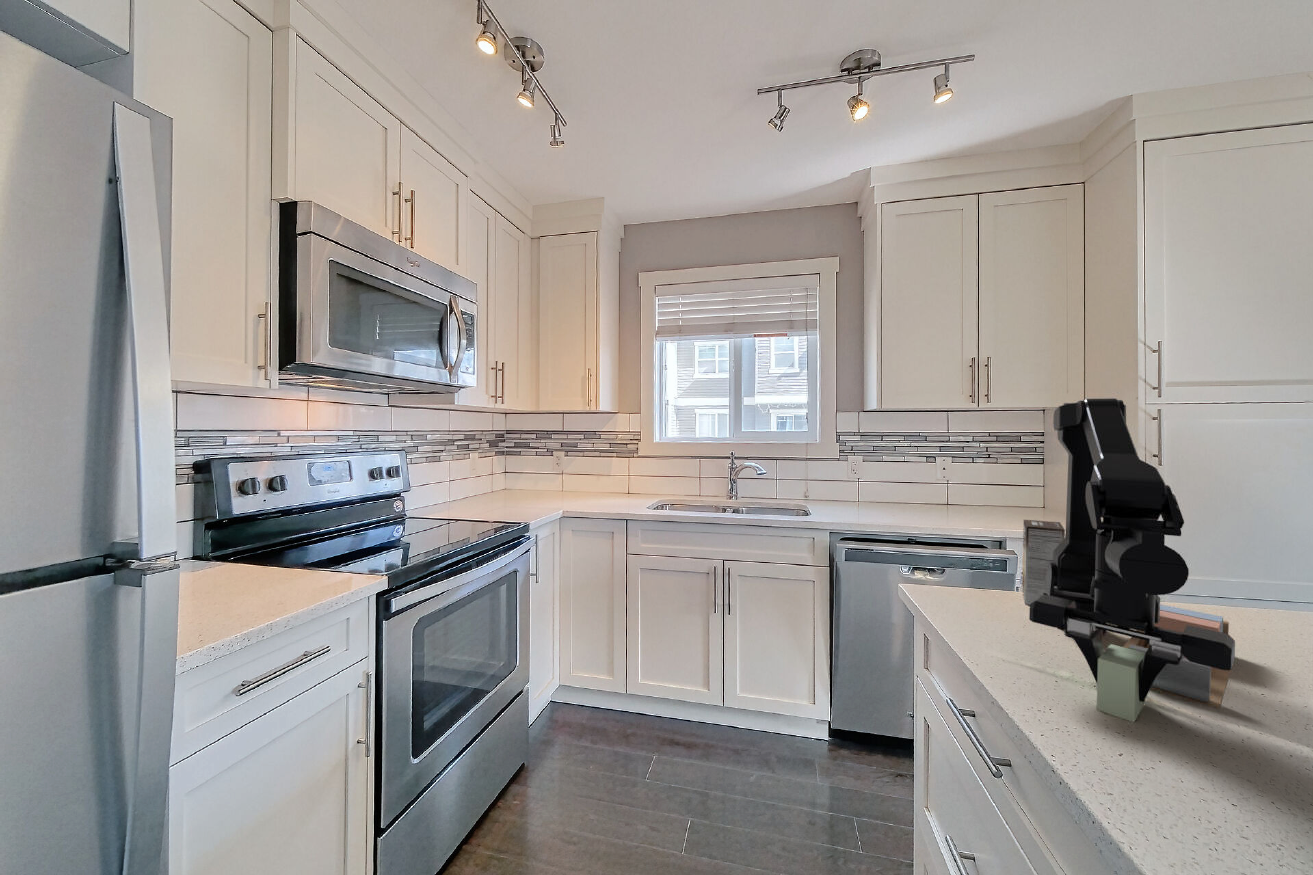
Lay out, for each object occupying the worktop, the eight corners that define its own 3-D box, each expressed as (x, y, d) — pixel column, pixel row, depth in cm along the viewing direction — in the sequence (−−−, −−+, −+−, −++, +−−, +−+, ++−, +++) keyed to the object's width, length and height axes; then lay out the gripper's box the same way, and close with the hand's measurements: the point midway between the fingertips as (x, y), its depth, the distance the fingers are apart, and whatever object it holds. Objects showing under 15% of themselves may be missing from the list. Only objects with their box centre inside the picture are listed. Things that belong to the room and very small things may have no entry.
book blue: (1219, 662, 76) (1220, 622, 76) (1154, 646, 82) (1155, 608, 81) (1222, 655, 78) (1223, 616, 78) (1158, 640, 84) (1159, 604, 84)
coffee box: (1020, 592, 111) (1022, 518, 111) (1058, 597, 108) (1060, 521, 108) (1024, 604, 103) (1026, 525, 103) (1064, 611, 100) (1066, 528, 100)
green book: (1145, 702, 66) (1146, 653, 66) (1134, 721, 62) (1135, 668, 62) (1109, 691, 69) (1110, 644, 69) (1096, 709, 65) (1097, 658, 65)
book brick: (1217, 669, 74) (1218, 628, 74) (1150, 652, 79) (1151, 614, 79) (1219, 662, 76) (1220, 622, 76) (1154, 646, 81) (1155, 609, 81)
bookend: (1208, 703, 64) (1210, 667, 64) (1127, 679, 70) (1128, 646, 70) (1210, 699, 65) (1211, 664, 65) (1129, 676, 71) (1130, 644, 71)
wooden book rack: (1218, 716, 63) (1220, 668, 63) (1112, 684, 71) (1113, 641, 71) (1234, 662, 78) (1235, 623, 78) (1144, 640, 86) (1145, 604, 86)
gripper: (1240, 578, 63) (1236, 704, 63) (1053, 549, 78) (1051, 652, 78) (1232, 597, 56) (1228, 738, 56) (1029, 561, 71) (1026, 673, 71)
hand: (1121, 694), depth 66 cm, fingers closed on green book, 3 cm apart
